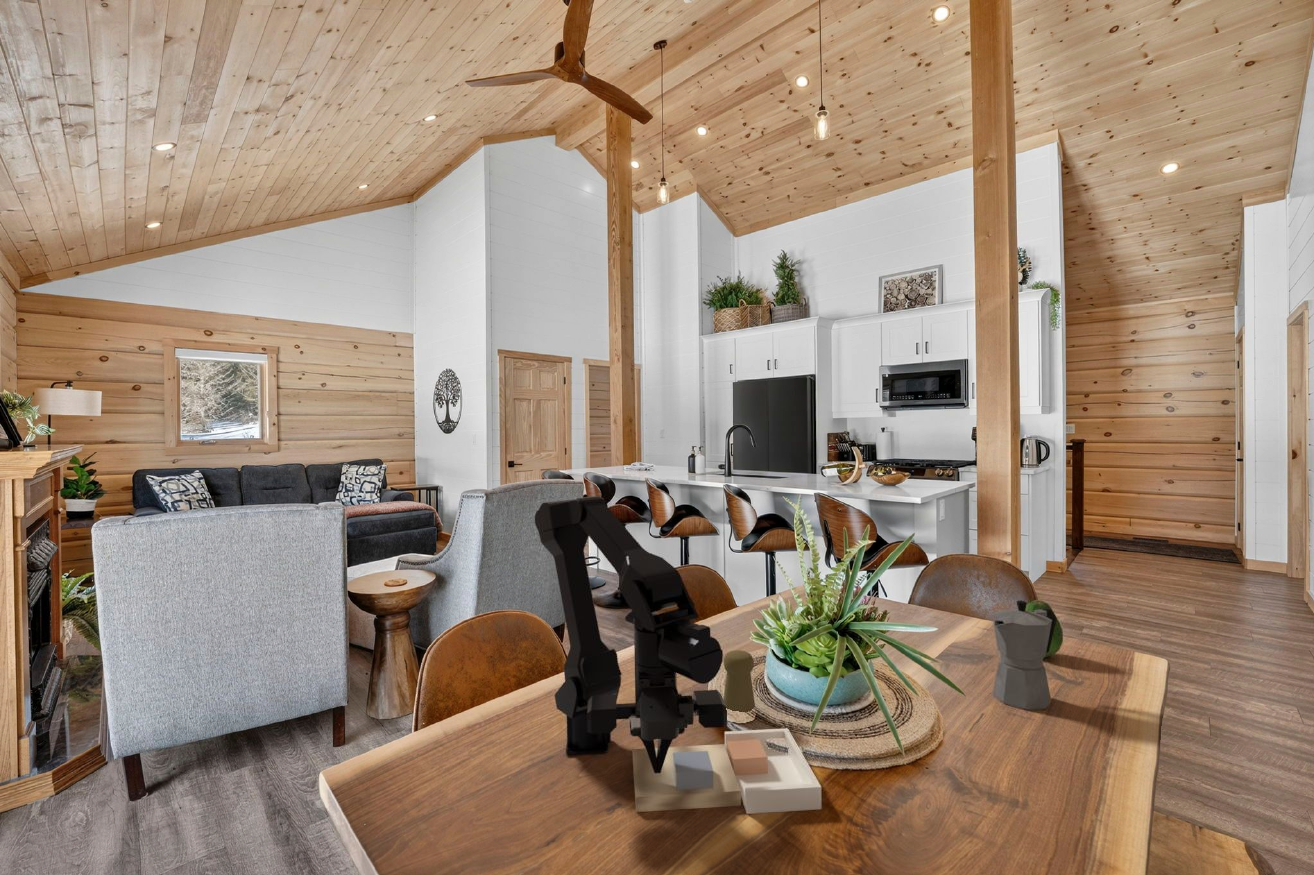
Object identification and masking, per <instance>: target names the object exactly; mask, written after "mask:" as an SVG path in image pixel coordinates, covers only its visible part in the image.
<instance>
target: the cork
mask: <svg viewBox="0 0 1314 875" xmlns="http://www.w3.org/2000/svg"><path fill="white" fill-rule="evenodd" d="M754 662H755V661H754V657H753V655H752V654H750V652H748V651H746V650H742V649H741V650H740V649H738V650H737V649H736V650H731V651H728V652H726V654H725V655H724V656H723V668H724V670H725V671H726V675H725V684H724V692H723V693H724V694H723V700H724V703H725V705H726V708H727V709H730V710H732V711H739V712H748V711H751V710H752V709H753V708H754V707H755V708H756V702H755V695H754V689H753V681H752V675H751V672H752V671H753V670H754V665H755V663H754Z"/></svg>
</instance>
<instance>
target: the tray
mask: <svg viewBox="0 0 1314 875" xmlns="http://www.w3.org/2000/svg"><path fill="white" fill-rule="evenodd" d="M770 738H785V740H786V742H787V743H788V745H789V749H788V755H786V754H783V753H780V752H777V751H774V750H772V749H768V748H769V747H768V745H767V743H766V742H765V741H766V740H767V739H770ZM756 739H759V741H760V743H761V745H762V747H763V749H764V751H765V753H766V755H767V757H768V773H766V774H751V775H737V776H736V779H737V782H738V785H739V788H740V790H741V802H742V804H743V807H744V810H745V813H746V814H747V815H749V814H751V815H752V814H765V813H766V814H767V813H785V812H786V813H787V812H799V811H814V810H822V785H821V783H820V782H819V781H818V779H817V777H816V775H815V773H814V772H813V770H812V768H811V766H810V764H809V763H808V761H807V759H806V757H805V756H804V754H803V753H802V751H801V749H800V748H799V746H798V744H797V742H796V740H795V739H794V737H793V735H792V733H791V731H790V730H789V728H787V727H786V728H770V729H753V730H752V729H749V730H748V729H747V730H731V731H724V745H725V748H726V751H727V741H740V740H756Z"/></svg>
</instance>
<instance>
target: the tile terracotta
mask: <svg viewBox="0 0 1314 875" xmlns="http://www.w3.org/2000/svg"><path fill="white" fill-rule="evenodd" d="M727 753H728V756H729V759H730V762H731V765H732V768H733V771H734V773H735V776H737V775H751V774H766V773H768V757H767V755H766V753H765V751H764V749H763V747H762V745H761V743H760V741H759V739H756V740H740V741H727Z"/></svg>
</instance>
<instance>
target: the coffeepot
mask: <svg viewBox="0 0 1314 875" xmlns="http://www.w3.org/2000/svg"><path fill="white" fill-rule="evenodd" d="M1027 605H1028V602H1027V601H1025V600H1022V599H1021V600H1017V601H1016V606H1017V609H998V610H996V611H995V612H994V613H992V614H991V615H992V621H993V628H994V634H995V640H996V646H997V648H996V649H997V651H999V652H1000V659H999V661H998V664H997V669H996V673H995V679H994V682H993V688H992V693H991V694H992V695H993V696H994V697H995V698H996V700H998V701H999V702H1001V703H1003V704H1005V705H1007V706H1009V707H1013V708H1017V709H1021V710H1026V711H1028V710H1029V711H1041V710H1042V711H1043V710H1046V709H1047V708H1048V707H1050V704H1051V702H1052V698H1051V693H1050V688H1049V687H1050V686H1049V682H1048V678H1047V677H1048V676H1047V672H1046V667H1045V666H1044V659H1045V658H1046V657H1045V655H1046V653H1048V652H1049V650H1050V645H1051V642H1052V638H1053V633H1054V629H1055V625H1056V621H1057V619H1058V617H1057V615H1056V614H1054V613H1055V612H1054V611H1053V612H1054V613H1053V612H1052V610H1053V609H1052V608H1051V609H1052V610H1051V609H1043V610H1040V609H1039V610H1034V612H1030V611H1025V610H1026V607H1027ZM1055 615H1056V616H1055ZM1056 617H1057V618H1056Z"/></svg>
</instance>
